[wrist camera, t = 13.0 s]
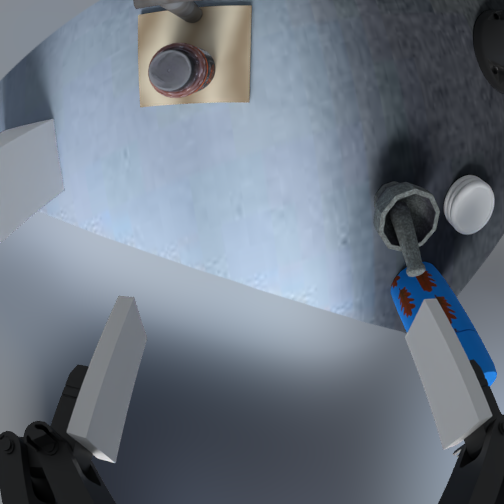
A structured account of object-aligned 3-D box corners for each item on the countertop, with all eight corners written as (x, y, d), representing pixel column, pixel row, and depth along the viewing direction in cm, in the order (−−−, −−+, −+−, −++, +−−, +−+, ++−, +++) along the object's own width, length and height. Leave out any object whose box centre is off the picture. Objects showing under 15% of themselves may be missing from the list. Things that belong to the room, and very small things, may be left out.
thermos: (379, 299, 54) (421, 414, 34) (408, 255, 48) (472, 371, 28) (419, 307, 56) (464, 409, 35) (447, 267, 50) (508, 369, 30)
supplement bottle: (205, 98, 34) (187, 111, 25) (162, 84, 33) (128, 93, 23) (224, 55, 31) (212, 50, 22) (179, 41, 30) (150, 33, 20)
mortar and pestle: (366, 170, 40) (400, 208, 30) (421, 169, 40) (463, 205, 30) (361, 237, 47) (385, 286, 37) (411, 233, 46) (444, 278, 36)
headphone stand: (251, 5, 28) (250, -23, 17) (249, 101, 35) (247, 117, 24) (141, 14, 28) (94, -1, 17) (143, 106, 35) (98, 126, 24)
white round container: (492, 189, 41) (503, 198, 38) (465, 232, 46) (475, 243, 43) (461, 163, 39) (473, 171, 36) (432, 212, 44) (442, 223, 41)
